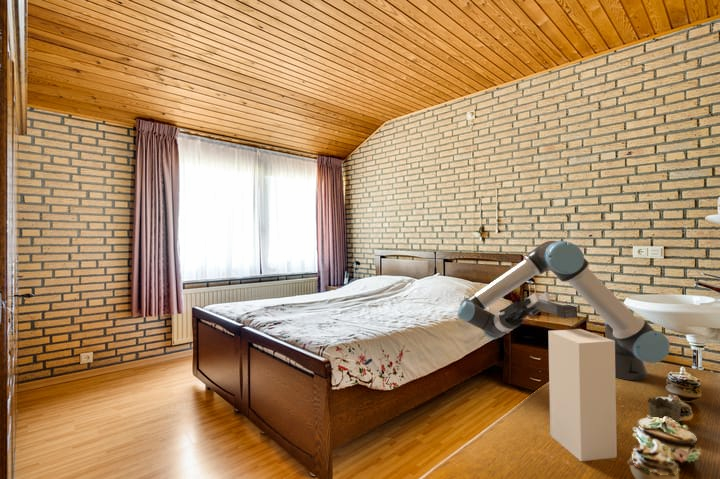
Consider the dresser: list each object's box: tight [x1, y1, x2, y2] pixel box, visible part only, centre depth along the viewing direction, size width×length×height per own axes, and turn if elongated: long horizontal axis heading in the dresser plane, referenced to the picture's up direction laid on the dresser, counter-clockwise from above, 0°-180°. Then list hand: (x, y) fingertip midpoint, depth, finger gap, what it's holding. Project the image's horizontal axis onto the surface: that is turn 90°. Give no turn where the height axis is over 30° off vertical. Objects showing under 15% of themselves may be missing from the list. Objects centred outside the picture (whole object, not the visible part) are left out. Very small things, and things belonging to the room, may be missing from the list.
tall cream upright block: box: [547, 328, 618, 462], centre depth 98 cm, size 10×12×30 cm
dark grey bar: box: [523, 296, 578, 319], centre depth 111 cm, size 4×20×3 cm, turn 7°
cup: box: [647, 396, 682, 424], centre depth 104 cm, size 8×7×8 cm
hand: (542, 296), depth 113 cm, fingers closed on dark grey bar, 3 cm apart
